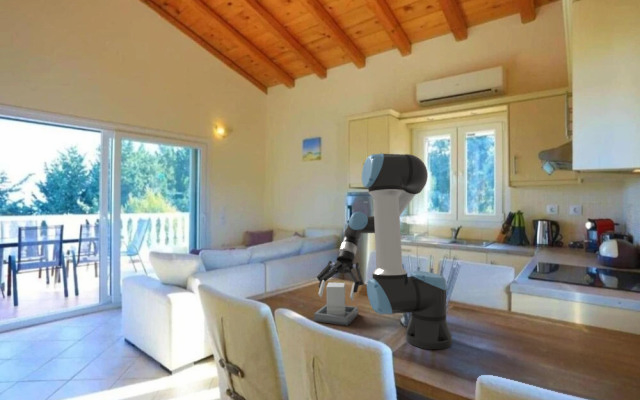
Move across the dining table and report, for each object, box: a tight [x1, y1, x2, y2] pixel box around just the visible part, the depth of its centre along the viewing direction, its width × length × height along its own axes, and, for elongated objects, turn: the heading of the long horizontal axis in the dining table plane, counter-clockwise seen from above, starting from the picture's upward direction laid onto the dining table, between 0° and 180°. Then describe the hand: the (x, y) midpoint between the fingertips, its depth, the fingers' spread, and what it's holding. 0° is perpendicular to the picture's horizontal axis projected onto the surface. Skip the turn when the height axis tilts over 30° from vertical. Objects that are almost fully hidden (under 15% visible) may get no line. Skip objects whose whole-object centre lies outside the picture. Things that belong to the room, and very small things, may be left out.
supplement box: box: [325, 282, 346, 317], centre depth 141 cm, size 7×7×13 cm
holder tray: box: [313, 303, 359, 327], centre depth 141 cm, size 14×14×3 cm
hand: (335, 297), depth 140 cm, fingers open, 13 cm apart
